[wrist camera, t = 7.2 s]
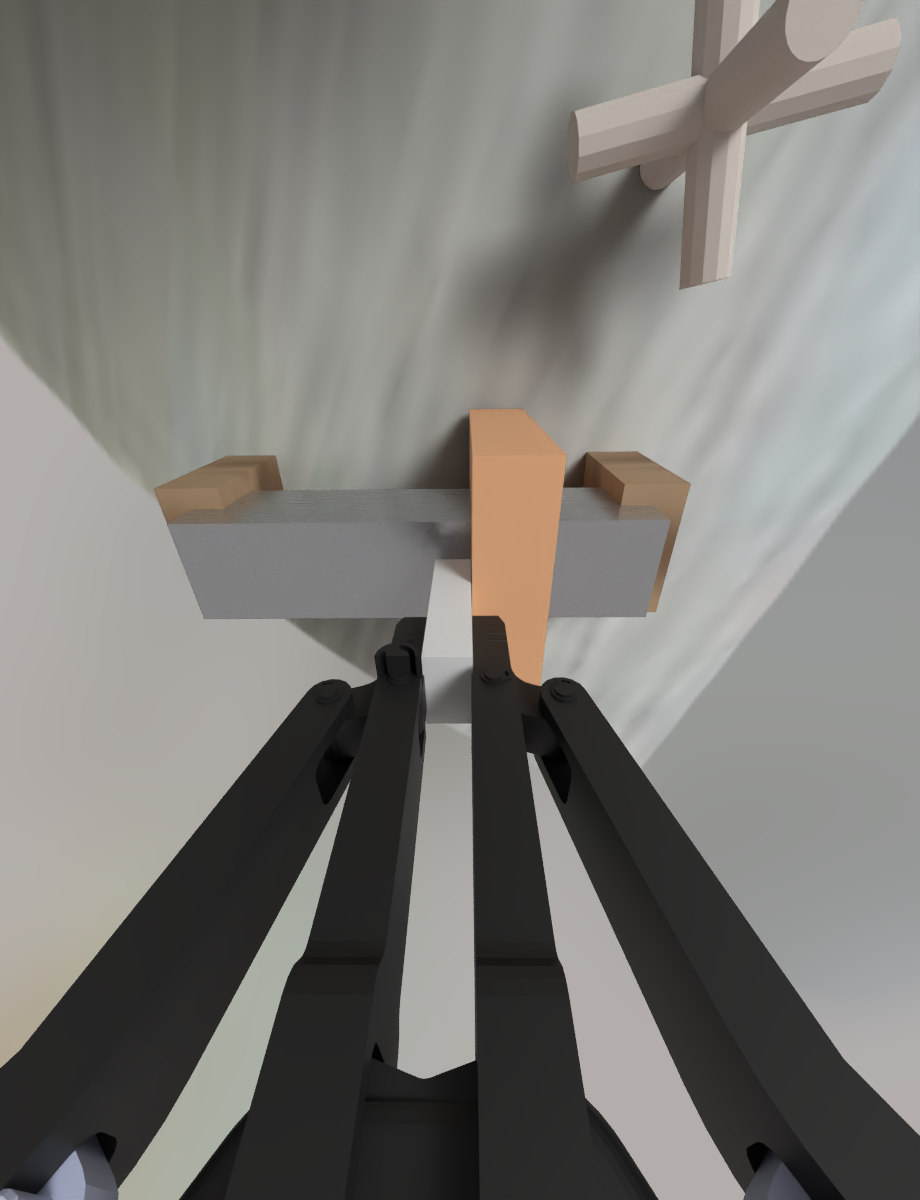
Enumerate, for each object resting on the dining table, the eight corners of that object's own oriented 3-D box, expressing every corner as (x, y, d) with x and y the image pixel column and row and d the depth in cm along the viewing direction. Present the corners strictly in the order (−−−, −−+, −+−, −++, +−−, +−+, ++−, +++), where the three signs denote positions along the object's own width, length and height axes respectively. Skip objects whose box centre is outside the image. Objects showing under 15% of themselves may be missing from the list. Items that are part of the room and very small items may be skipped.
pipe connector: (557, 319, 22) (617, 301, 13) (537, 28, 17) (613, -306, 8) (760, 272, 21) (969, 216, 12) (803, -57, 16) (1212, -545, 7)
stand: (226, 455, 26) (153, 488, 20) (637, 451, 25) (690, 483, 19) (256, 559, 29) (202, 614, 23) (616, 557, 29) (655, 611, 23)
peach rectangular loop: (469, 409, 24) (472, 456, 13) (522, 408, 24) (566, 455, 13) (469, 592, 30) (471, 721, 20) (511, 592, 30) (536, 721, 19)
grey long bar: (223, 490, 23) (166, 524, 18) (631, 487, 22) (670, 520, 18) (248, 573, 25) (204, 618, 21) (614, 570, 25) (645, 616, 21)
